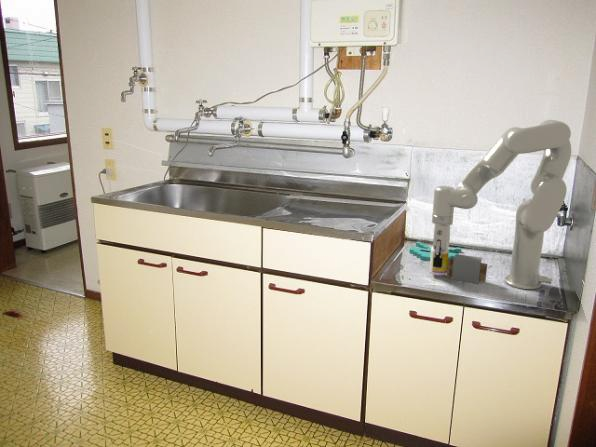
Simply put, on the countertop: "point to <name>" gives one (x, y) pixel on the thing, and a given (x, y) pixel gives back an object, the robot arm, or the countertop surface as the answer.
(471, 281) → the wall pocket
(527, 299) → the countertop surface
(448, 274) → the brown flat slab
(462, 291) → the countertop surface
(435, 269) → the supplement bottle
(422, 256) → the pixel art sprite
